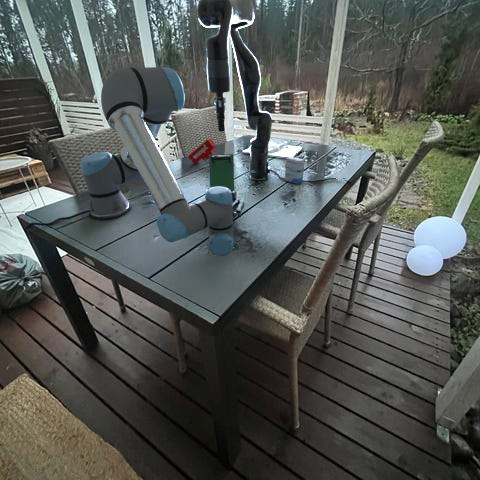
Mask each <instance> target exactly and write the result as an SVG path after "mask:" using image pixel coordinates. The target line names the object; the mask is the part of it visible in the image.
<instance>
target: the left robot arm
mask: <svg viewBox="0 0 480 480" xmlns="http://www.w3.org/2000/svg"><path fill="white" fill-rule="evenodd" d="M185 99H186V98H185V90H184V85H183V81H182V80H181V78H180V76H179V74H178V73H177V71H175V70H174V69H173V68H171V67H165V66H164V67H163V66H151V67H150V66H147V67H144V66H143V67H119V68H116V69H115V70H113V71H112V72H110V73H109V74H108V75H107V76H106V78H105V79H104V81H103V84H102V86H101V91H100V104H101V105H100V106H101V109H102V113H103V116H104V118H105V120H106V123H107V124H108V126H109V127H110V129H112V130H113V131H116V132H117V134H118V136H119V138H120V140H121V142H122V143H123V146H122V147H121V149H120V152H119V153H115V154H111V153H110V152H108V151H101V152H94V153H91V154H89V155H88V154H87V155H86V156H85V157H83V158H82V159H81V160H80V162H79V167H80V171H81V175H82V177H83V180H84V182H85V185H86V189H87V192H88V195H89V209H87V210H84V211H81V212H77V213H76V214H73V215H70V216H63V217H59V218H56V219H54V220H53V221H51V222H45V223H44V222H31V223H29V224H28V225H26V227H25V228H26V229H29V228H31V227H33V226H43V227H46V226H47V227H48V226H52V225H55V224H56V223H58V222H60V221H64V220H66V221H67V220H71V219H73V218H76V217H79V216H82V215H84V214H87V213H90V217H92V218H94V219H97V220H109V219H116V218H118V217H121V216H124V215H125V214H126V213H128V212H129V211H130V204H129V200H128V199H127V198H126V197H125V196H124V194H123V193H122V191H121V188H120V185H123V184H126V183H130V182H134V181H139V180H142V181H143V183H144V184H145V186H146V188H147V190H148V192H149V194H150V196H151V198H152V199H153V201H154V203H155V205H156V207H157V209H158V210H159V213H160V214H161V215H158V217H157V219H156V226H157V228H158V232H159V234H160V235H161V237H162V238H163V239H164V240H165V241H166V242H168V243H174V242H177V241H180V240H182V239H186V238H189V237H190V236H191V235H194V234H196V233H198V232H200V231H201V232H202V231H203V230H206V229H208V239H207V243H208V246H207V247H208V249H209V251H210V253H212V254H213V255H215V256H217V257H218V256H219V257H222V256H227V255H229V254H230V253H232V251H233V249H234V245H235V239H234V217H235V216H237V217H238V218H242V213H243V210H244V208H245V199H240V197H239V196H237V192H236V191H234V202H233V201H232V193H231V191H230V190H229V189H228V188H225V187H211V188H210V187H208V189H206V191H205V192H204V195H205V196H204V199H202V200H200V201H196V202H194V203H190V204H189V202H188V200H187V199H186V197H185V195H184V193H183V191H182V189H181V188H180V186H179V184H178V182H177V180H176V178H175V176H174V175H173V172H172V171H171V169H170V167H169V165H168V163H167V161H166V159H165V158H164V155H163V154H162V152H161V150H160V148H159V147H158V144H157V143H156V139H157V136H158V134H159V132H160V129H161V126H162V125H164V124H166V123H167V122H168V121H169V120H170V118H171V115H172V114H173V113H174V112H179V111H181V110H183V108H184V106H185V103H186V102H185ZM234 210H235V212H233V211H234Z"/></svg>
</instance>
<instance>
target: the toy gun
mask: <svg viewBox="0 0 480 480" xmlns="http://www.w3.org/2000/svg"><path fill="white" fill-rule="evenodd" d="M216 147H217V145H216V143H215V142H214V141H213V140H212V139H211V138H208V139H206V140H205V141H204V142H203V143H201V144H200V145H199V146H198V147H197V148H196V149H194V151H192V152H191V153H190V154H188V159H189V160H190V161H191V162H192V163H193V164H197V163H198V162H200V161H201V160H202V161H204V162H205V161H207V160H209V155H216V154H217V152H215V149H216Z"/></svg>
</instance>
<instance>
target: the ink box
mask: <svg viewBox="0 0 480 480" xmlns="http://www.w3.org/2000/svg"><path fill="white" fill-rule="evenodd" d="M305 162H306V159H304V158H299V157H296V156H294V157H289V158H287V159H286V158H285V169H284V178H285V180H284V181H285V182H289V183H293V184H295V185H298V184H300V183H303V182H302V180H304V173H305V171H304V170H305Z"/></svg>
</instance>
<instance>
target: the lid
mask: <svg viewBox="0 0 480 480" xmlns="http://www.w3.org/2000/svg"><path fill="white" fill-rule="evenodd" d="M234 162H235V161H234V154H233V153H227V154H226V153H221V154H218V153H216V155H209V159H208V167H209V188H211V187H225V188H228V189H229V190H230V191H234V192H235V165H234Z"/></svg>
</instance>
